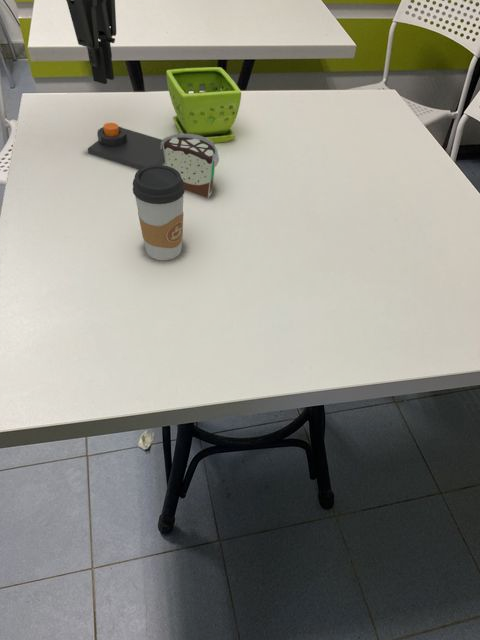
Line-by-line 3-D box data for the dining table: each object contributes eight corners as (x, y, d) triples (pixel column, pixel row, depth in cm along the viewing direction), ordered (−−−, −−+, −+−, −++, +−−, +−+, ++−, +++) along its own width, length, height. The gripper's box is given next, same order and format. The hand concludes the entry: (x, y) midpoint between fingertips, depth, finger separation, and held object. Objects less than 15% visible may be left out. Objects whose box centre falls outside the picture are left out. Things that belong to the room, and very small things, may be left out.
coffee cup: (164, 273, 86) (157, 197, 75) (130, 252, 89) (119, 176, 77) (196, 251, 91) (195, 177, 79) (163, 232, 93) (157, 157, 82)
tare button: (101, 134, 109) (100, 127, 107) (109, 129, 111) (108, 121, 109) (114, 138, 108) (112, 130, 107) (122, 132, 110) (121, 125, 109)
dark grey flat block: (86, 155, 109) (83, 139, 106) (117, 132, 116) (115, 118, 114) (152, 175, 106) (150, 160, 103) (179, 151, 113) (178, 137, 110)
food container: (228, 188, 105) (230, 143, 97) (214, 202, 101) (215, 156, 94) (178, 171, 108) (176, 126, 100) (163, 184, 104) (159, 138, 96)
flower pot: (183, 152, 113) (181, 95, 103) (167, 124, 121) (164, 68, 111) (240, 146, 117) (243, 90, 108) (221, 119, 125) (222, 65, 116)
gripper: (73, -57, 78) (98, 97, 96) (125, -71, 87) (139, 72, 105) (34, -66, 79) (65, 88, 97) (89, -79, 88) (109, 64, 106)
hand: (104, 79), depth 101 cm, fingers closed
